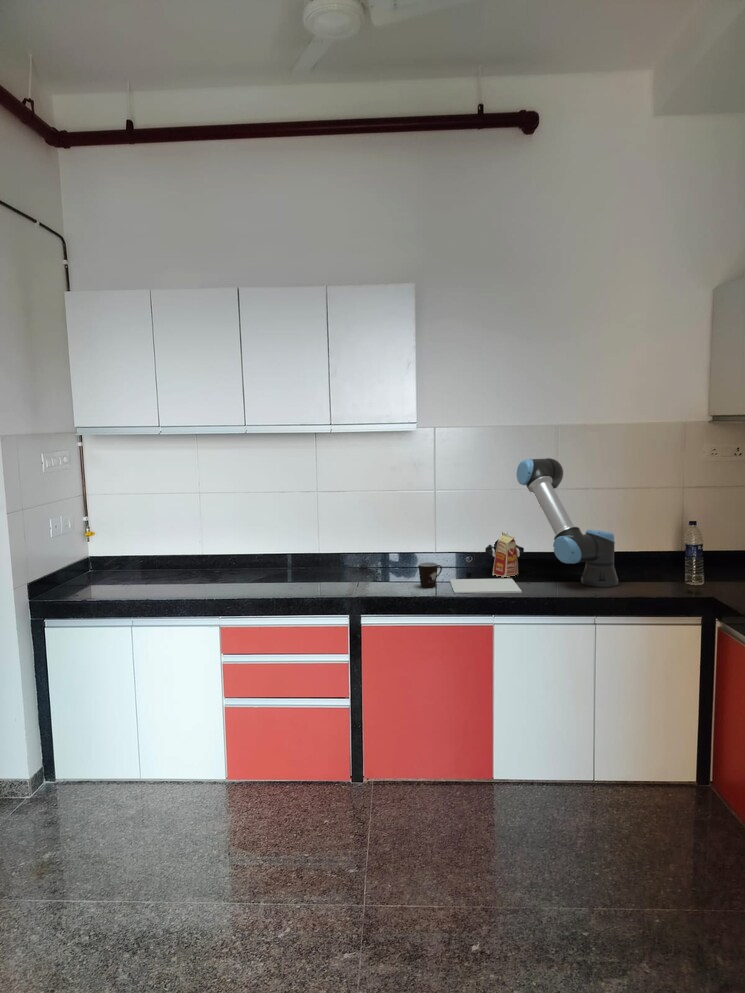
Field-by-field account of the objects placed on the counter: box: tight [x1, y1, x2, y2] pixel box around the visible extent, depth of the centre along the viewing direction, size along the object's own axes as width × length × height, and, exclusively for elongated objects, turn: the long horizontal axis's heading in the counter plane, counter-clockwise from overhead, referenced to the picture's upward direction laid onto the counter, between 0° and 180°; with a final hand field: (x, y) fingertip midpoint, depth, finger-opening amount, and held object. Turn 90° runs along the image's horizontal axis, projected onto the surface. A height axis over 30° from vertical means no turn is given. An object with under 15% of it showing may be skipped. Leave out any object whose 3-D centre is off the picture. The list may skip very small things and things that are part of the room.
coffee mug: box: [417, 561, 443, 589], centre depth 281 cm, size 12×9×10 cm
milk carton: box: [491, 532, 519, 578], centre depth 299 cm, size 9×9×20 cm
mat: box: [449, 578, 523, 594], centre depth 279 cm, size 28×23×1 cm
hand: (506, 553), depth 295 cm, fingers closed on milk carton, 10 cm apart
